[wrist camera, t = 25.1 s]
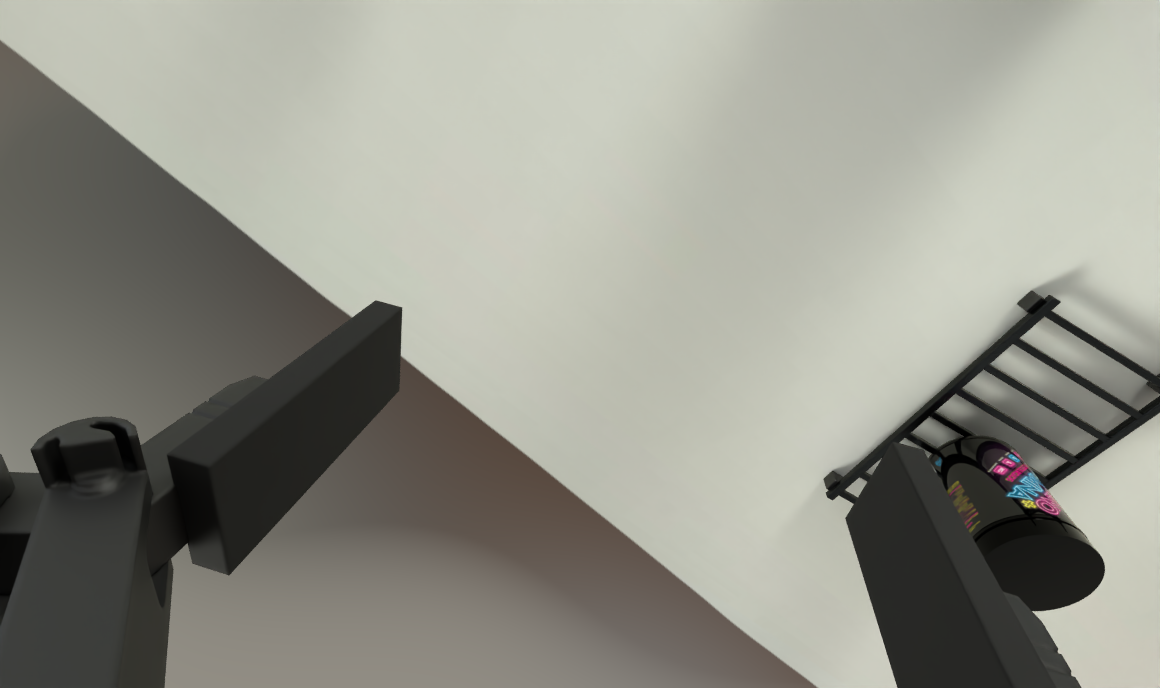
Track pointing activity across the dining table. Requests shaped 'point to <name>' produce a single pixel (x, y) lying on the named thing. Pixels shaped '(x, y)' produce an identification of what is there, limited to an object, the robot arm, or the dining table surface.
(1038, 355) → the wire rack
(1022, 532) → the supplement container
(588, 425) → the dining table surface
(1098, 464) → the dining table surface
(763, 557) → the dining table surface
